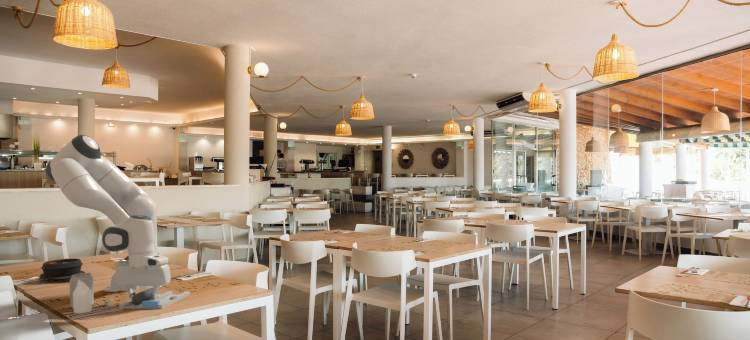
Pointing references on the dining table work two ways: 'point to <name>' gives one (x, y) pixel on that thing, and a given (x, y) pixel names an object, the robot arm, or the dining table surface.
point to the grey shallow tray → (156, 301)
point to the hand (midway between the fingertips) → (143, 297)
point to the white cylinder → (82, 298)
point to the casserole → (61, 269)
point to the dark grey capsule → (142, 296)
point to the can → (85, 279)
